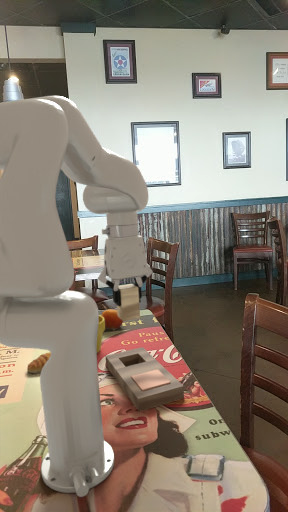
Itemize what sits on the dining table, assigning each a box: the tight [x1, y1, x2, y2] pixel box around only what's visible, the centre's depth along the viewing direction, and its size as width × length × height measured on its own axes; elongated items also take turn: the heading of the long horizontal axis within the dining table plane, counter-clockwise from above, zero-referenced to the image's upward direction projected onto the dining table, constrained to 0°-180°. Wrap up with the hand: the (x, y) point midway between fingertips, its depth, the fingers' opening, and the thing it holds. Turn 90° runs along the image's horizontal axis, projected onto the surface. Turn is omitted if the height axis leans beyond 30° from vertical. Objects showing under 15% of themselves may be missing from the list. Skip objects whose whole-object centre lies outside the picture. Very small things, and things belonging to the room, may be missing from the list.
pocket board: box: [104, 346, 185, 412], centre depth 94 cm, size 24×11×3 cm, turn 23°
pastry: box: [27, 351, 51, 374], centre depth 104 cm, size 9×7×4 cm
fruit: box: [100, 308, 124, 333], centre depth 130 cm, size 8×8×8 cm
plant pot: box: [97, 314, 106, 354], centre depth 113 cm, size 10×10×10 cm
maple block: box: [116, 283, 141, 322], centre depth 96 cm, size 4×4×8 cm
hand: (127, 302), depth 96 cm, fingers closed on maple block, 4 cm apart
